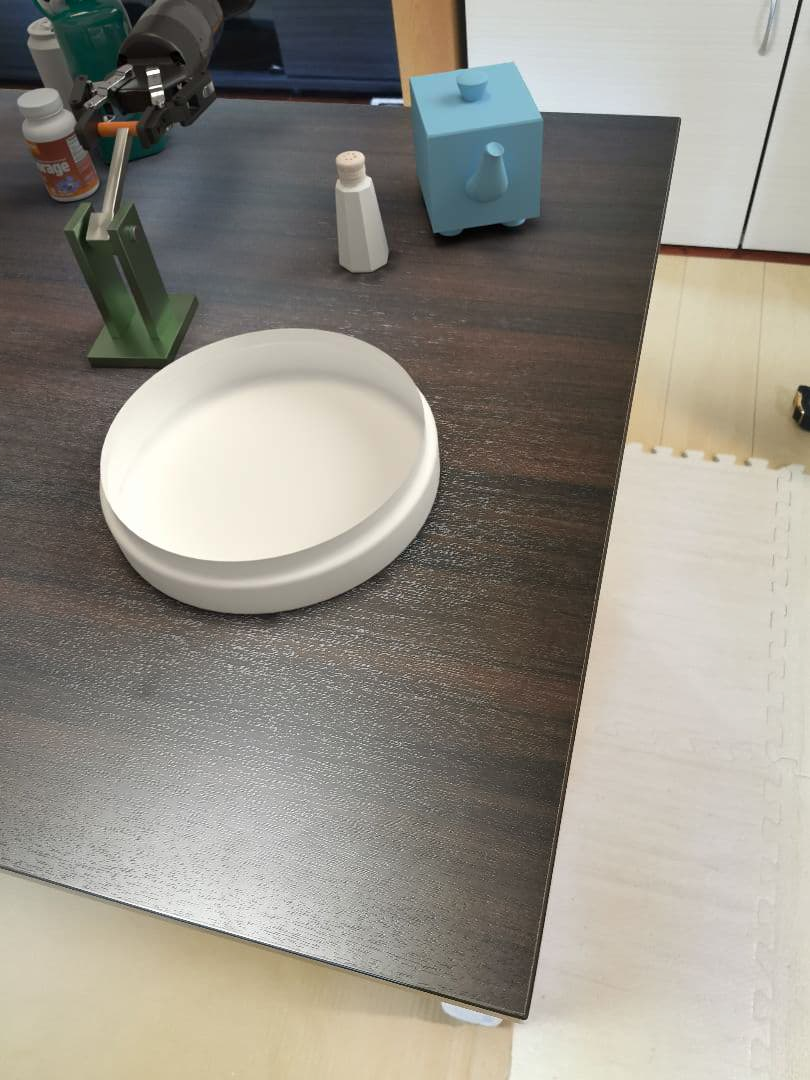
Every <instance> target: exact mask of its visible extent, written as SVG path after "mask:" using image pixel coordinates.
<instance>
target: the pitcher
mask: <svg viewBox="0 0 810 1080" xmlns="http://www.w3.org/2000/svg"><path fill="white" fill-rule="evenodd" d="M31 1H32V3H33V4H34V5H35V7H36V8H37V10H38V11H39V12H40V13H41V14H42V15H43V16H44V17H47V18H48V19H49V21H50V23H51V26H52V29H53V31H54V34H55V37H56V39H57V42H58V44H59V47H60V50H61V52H62V55H63V58H64V60H65V63H66V66H67V68H68V71H69V73H70V76H71V79H72V81H73V84H74V82H75V79H76V77H78V76H79V75H87V76H88V78H89V80H91V82H92V83H93V82H100V81H104V80H105V77H106V75H107V74H109V73H110V72H112V71H114V70H115V69H116V64H117V57H118V52H119V49H120V46H121V44H122V43H123V41H124V40H125V38H126V37H127V36H128V34H129V33H130V31H131V30H132V29H133V27H132V24H131V21H130V18H129V15H128V12H127V10H126V8H125V6H124V4H123V2H122V1H121V0H50V1H45V0H31ZM99 109H100V112H101V114H102V117H104V116H105V110H104V108H103V106H101V107H100V108H99ZM119 110H120V109H119ZM143 113H144V112H142V113H140V114H138V113H136V114H135V115H134V116H132V117H131V118H130V119H128V120H127V121H126V122H128V121H139V120H140V118H141V117H142V115H143ZM115 139H116V136H111V137H102V138H101V139H100V141H99V142H98V144H97V145H96V147H97V150H98V152H99V155H100V157H101V160H102V161H103V162H105V163H107V164H110V165H111V160H112V155H113V150H114V145H115ZM167 144H168V140H167V136H166V132H165V133H164V134H163V136H162V138H161V140H160V141H159V142H157V143H155V144H154V146H153V148H152V149H143V148H142V146H141V143H140V140H139V138H138V136H133V139H132V144H131V150H130V155H129V160H128V162H130V161H134V160H137V159H141V158H145V157H148V156H152V155H155V154H158V153H160V152H162V151H163V150H164V149H166V147H167Z"/></svg>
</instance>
